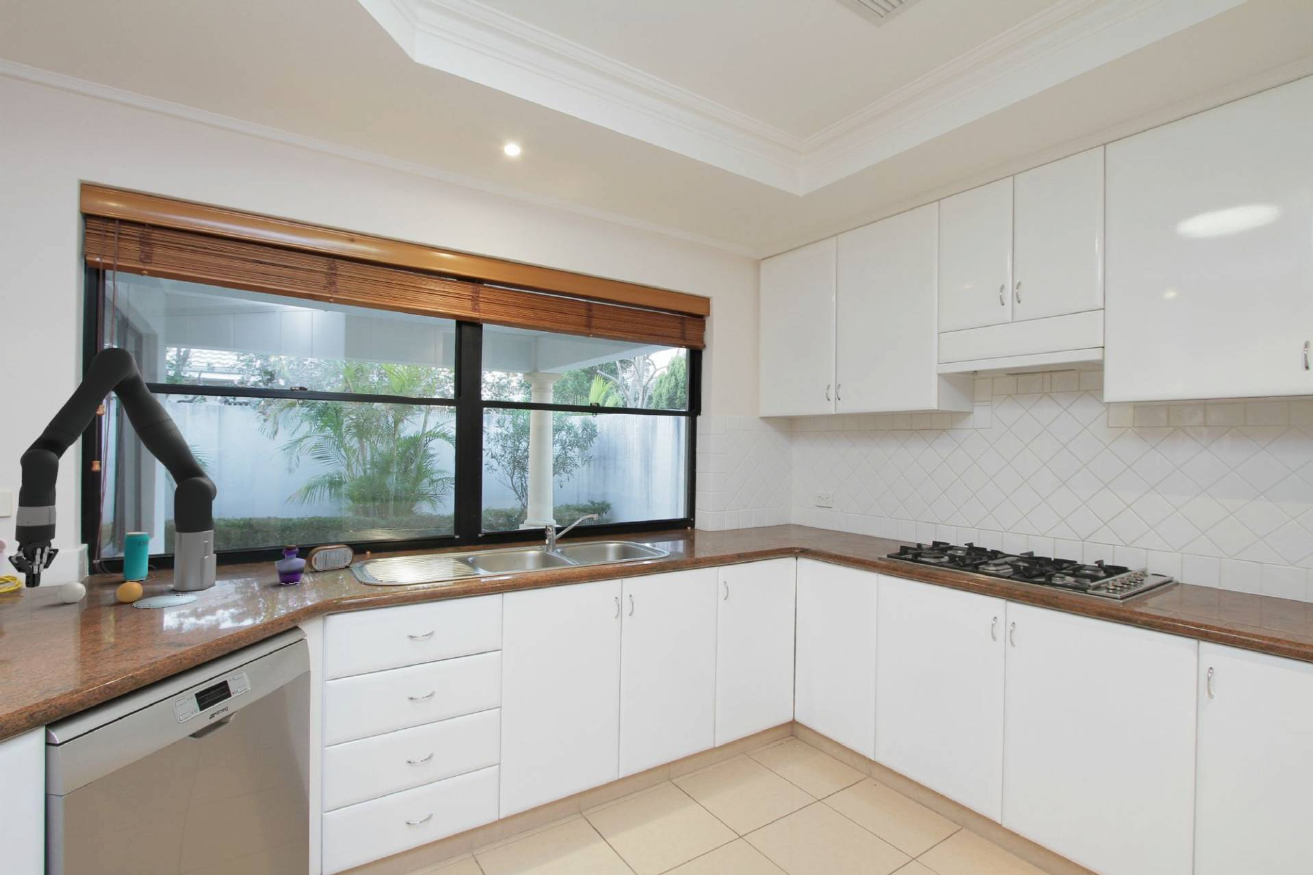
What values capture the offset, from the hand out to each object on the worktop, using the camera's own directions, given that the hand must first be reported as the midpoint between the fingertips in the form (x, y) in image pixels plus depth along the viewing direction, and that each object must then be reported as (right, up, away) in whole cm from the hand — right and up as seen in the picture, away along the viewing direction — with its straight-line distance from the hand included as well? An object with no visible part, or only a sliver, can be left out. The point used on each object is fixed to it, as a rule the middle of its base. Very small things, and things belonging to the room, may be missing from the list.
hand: (32, 587), depth 162 cm
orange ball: (+23, -2, +3) cm, 24 cm away
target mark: (+32, -5, +5) cm, 33 cm away
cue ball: (+9, -2, +1) cm, 10 cm away
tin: (+54, -6, +49) cm, 73 cm away
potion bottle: (+52, -6, +29) cm, 59 cm away
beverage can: (+5, -5, +27) cm, 28 cm away
